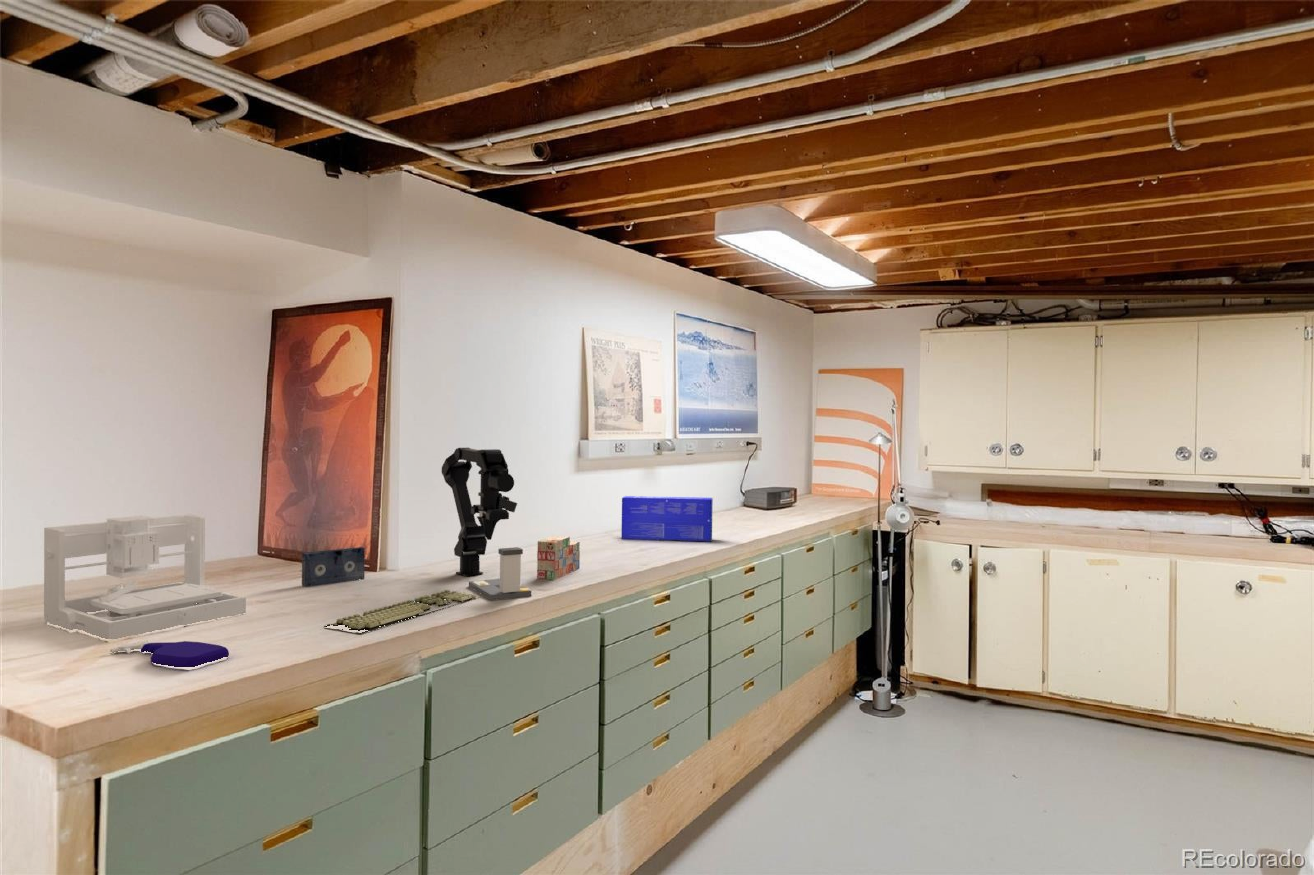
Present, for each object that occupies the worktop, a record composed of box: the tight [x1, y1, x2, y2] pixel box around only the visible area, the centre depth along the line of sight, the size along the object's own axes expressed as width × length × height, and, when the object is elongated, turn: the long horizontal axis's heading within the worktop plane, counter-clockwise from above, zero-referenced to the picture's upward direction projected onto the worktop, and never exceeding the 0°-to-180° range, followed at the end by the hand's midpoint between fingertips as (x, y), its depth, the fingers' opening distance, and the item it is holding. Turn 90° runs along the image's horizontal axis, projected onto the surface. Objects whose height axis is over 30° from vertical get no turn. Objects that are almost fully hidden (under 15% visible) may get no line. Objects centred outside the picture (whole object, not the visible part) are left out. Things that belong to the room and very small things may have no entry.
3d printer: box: [43, 514, 247, 639], centre depth 191 cm, size 35×32×25 cm
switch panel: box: [468, 578, 532, 601], centre depth 228 cm, size 20×12×2 cm, turn 31°
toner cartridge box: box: [620, 495, 714, 542], centre depth 335 cm, size 39×8×18 cm, turn 84°
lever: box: [497, 546, 524, 593], centre depth 221 cm, size 4×6×12 cm, turn 121°
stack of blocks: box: [536, 535, 581, 580], centre depth 257 cm, size 21×6×12 cm, turn 164°
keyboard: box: [323, 589, 482, 635], centre depth 203 cm, size 45×15×2 cm, turn 154°
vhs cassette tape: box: [301, 546, 366, 588], centre depth 236 cm, size 18×3×10 cm, turn 134°
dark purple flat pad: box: [109, 639, 230, 667], centre depth 161 cm, size 3×11×24 cm
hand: (489, 539), depth 242 cm, fingers closed
